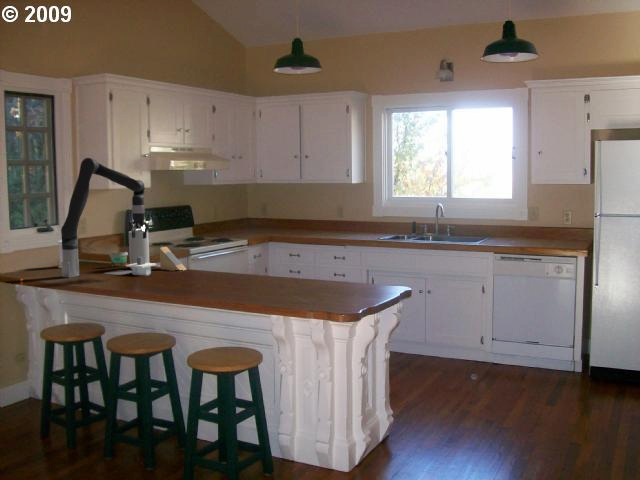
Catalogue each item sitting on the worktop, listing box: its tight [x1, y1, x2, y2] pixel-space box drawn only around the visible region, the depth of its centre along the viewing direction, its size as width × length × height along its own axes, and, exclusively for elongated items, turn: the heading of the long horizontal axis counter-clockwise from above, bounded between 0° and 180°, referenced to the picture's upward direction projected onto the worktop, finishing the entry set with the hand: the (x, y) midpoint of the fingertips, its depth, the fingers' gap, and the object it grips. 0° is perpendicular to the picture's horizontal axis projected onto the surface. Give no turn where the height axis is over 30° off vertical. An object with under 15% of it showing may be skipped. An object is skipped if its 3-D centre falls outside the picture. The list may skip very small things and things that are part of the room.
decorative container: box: [57, 239, 63, 269], centre depth 465 cm, size 12×12×18 cm
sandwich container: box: [159, 246, 188, 272], centre depth 447 cm, size 9×15×15 cm, turn 70°
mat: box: [102, 269, 132, 276], centre depth 436 cm, size 16×16×1 cm
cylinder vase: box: [128, 230, 150, 270], centre depth 452 cm, size 12×12×25 cm
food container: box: [108, 251, 129, 268], centre depth 462 cm, size 12×6×10 cm, turn 105°
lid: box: [125, 257, 157, 268], centre depth 429 cm, size 13×13×6 cm
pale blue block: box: [131, 266, 152, 277], centre depth 429 cm, size 11×11×6 cm
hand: (139, 238), depth 427 cm, fingers open, 8 cm apart
